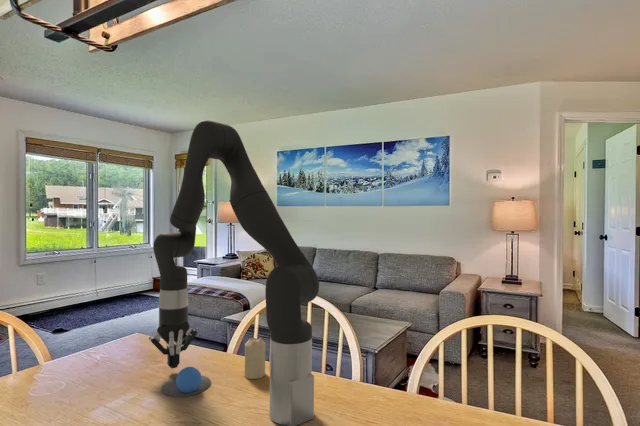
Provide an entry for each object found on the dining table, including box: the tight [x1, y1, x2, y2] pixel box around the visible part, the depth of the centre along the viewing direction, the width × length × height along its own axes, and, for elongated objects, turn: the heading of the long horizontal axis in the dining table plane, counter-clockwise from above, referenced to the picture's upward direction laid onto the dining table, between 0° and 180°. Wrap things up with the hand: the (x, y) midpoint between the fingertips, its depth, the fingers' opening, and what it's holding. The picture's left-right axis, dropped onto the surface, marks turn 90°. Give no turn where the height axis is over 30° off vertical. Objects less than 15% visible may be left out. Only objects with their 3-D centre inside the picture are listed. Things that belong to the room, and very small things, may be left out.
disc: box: [161, 374, 212, 398], centre depth 101 cm, size 12×12×1 cm
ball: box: [175, 366, 202, 393], centre depth 98 cm, size 6×6×6 cm
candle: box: [244, 337, 266, 380], centre depth 108 cm, size 6×6×10 cm
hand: (173, 367), depth 109 cm, fingers closed
